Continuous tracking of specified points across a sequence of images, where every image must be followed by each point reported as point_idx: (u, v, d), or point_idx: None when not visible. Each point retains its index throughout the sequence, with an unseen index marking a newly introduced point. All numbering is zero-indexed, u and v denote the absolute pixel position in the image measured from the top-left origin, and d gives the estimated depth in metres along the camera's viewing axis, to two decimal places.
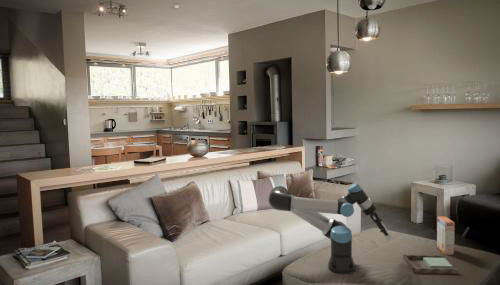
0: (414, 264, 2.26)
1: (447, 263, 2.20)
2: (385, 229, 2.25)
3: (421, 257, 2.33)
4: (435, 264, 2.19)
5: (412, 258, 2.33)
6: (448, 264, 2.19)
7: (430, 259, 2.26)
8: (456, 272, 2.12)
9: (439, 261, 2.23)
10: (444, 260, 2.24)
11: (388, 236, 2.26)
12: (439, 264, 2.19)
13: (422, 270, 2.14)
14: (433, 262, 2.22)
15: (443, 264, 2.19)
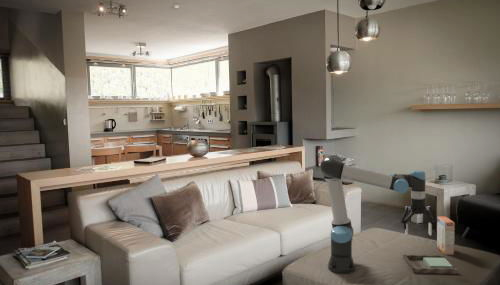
0: (414, 264, 2.26)
1: (447, 263, 2.20)
2: (405, 223, 2.22)
3: (421, 257, 2.33)
4: (435, 264, 2.19)
5: (412, 258, 2.33)
6: (448, 264, 2.19)
7: (430, 259, 2.26)
8: (456, 272, 2.12)
9: (439, 261, 2.23)
10: (444, 260, 2.24)
11: (405, 231, 2.23)
12: (439, 264, 2.19)
13: (422, 270, 2.14)
14: (433, 262, 2.22)
15: (443, 264, 2.19)
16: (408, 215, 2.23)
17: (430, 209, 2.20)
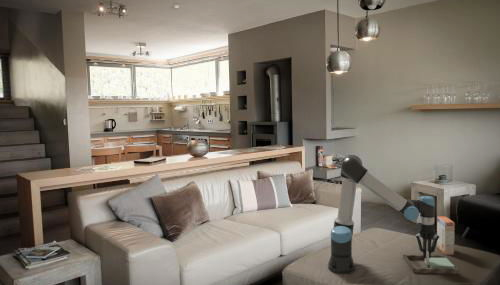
0: (414, 264, 2.26)
1: (449, 263, 2.20)
2: (425, 252, 2.22)
3: (421, 257, 2.33)
4: (437, 264, 2.19)
5: (412, 258, 2.33)
6: (450, 264, 2.18)
7: (432, 259, 2.26)
8: (456, 272, 2.12)
9: (441, 261, 2.23)
10: (446, 260, 2.24)
11: (425, 260, 2.23)
12: (441, 264, 2.19)
13: (422, 270, 2.14)
14: (435, 262, 2.21)
15: (444, 264, 2.19)
16: (423, 243, 2.24)
17: (437, 238, 2.21)
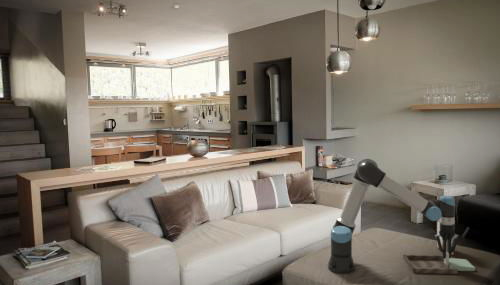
0: (414, 264, 2.26)
1: (469, 264, 2.19)
2: (445, 252, 2.21)
3: (421, 257, 2.33)
4: (457, 265, 2.18)
5: (412, 258, 2.33)
6: (470, 265, 2.17)
7: (451, 260, 2.25)
8: (456, 272, 2.12)
9: (461, 262, 2.22)
10: (466, 261, 2.23)
11: (445, 260, 2.22)
12: (461, 265, 2.18)
13: (422, 270, 2.14)
14: (455, 263, 2.20)
15: (465, 265, 2.18)
16: None
17: (457, 238, 2.19)
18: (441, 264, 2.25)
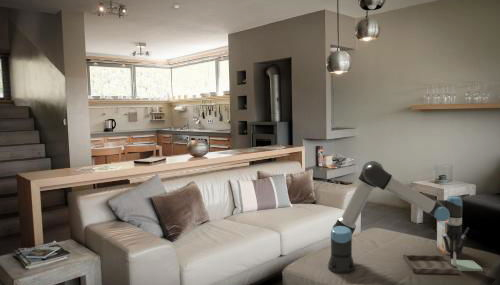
0: (414, 264, 2.26)
1: (476, 266, 2.18)
2: (453, 253, 2.20)
3: (421, 257, 2.33)
4: (465, 267, 2.17)
5: (412, 258, 2.33)
6: (478, 267, 2.17)
7: (458, 262, 2.24)
8: (456, 272, 2.12)
9: (468, 264, 2.21)
10: (473, 262, 2.22)
11: (452, 260, 2.22)
12: (469, 266, 2.18)
13: (422, 270, 2.14)
14: (462, 265, 2.20)
15: (472, 266, 2.17)
16: (450, 243, 2.22)
17: (464, 238, 2.19)
18: (441, 264, 2.25)
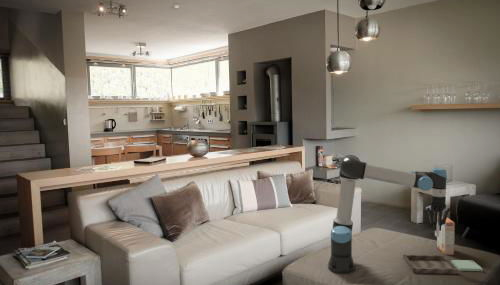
0: (414, 264, 2.26)
1: (476, 266, 2.18)
2: (436, 224, 2.21)
3: (421, 257, 2.33)
4: (465, 267, 2.17)
5: (412, 258, 2.33)
6: (478, 267, 2.17)
7: (458, 261, 2.24)
8: (456, 272, 2.12)
9: (468, 264, 2.21)
10: (473, 262, 2.22)
11: (435, 232, 2.23)
12: (469, 266, 2.18)
13: (422, 270, 2.14)
14: (462, 265, 2.20)
15: (472, 266, 2.17)
16: None
17: (448, 210, 2.20)
18: (441, 264, 2.25)
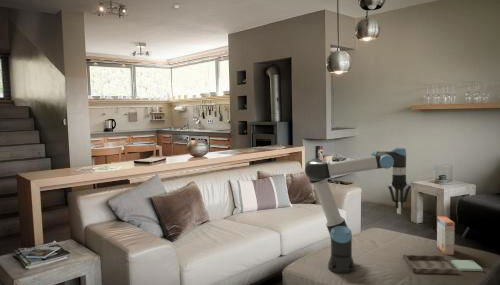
0: (414, 264, 2.26)
1: (476, 266, 2.18)
2: (397, 202, 2.28)
3: (421, 257, 2.33)
4: (465, 267, 2.17)
5: (412, 258, 2.33)
6: (478, 267, 2.17)
7: (458, 261, 2.24)
8: (456, 272, 2.12)
9: (468, 264, 2.21)
10: (473, 262, 2.22)
11: (397, 210, 2.30)
12: (469, 266, 2.18)
13: (422, 270, 2.14)
14: (462, 265, 2.20)
15: (472, 266, 2.17)
16: (395, 193, 2.30)
17: (408, 188, 2.27)
18: (441, 264, 2.25)
